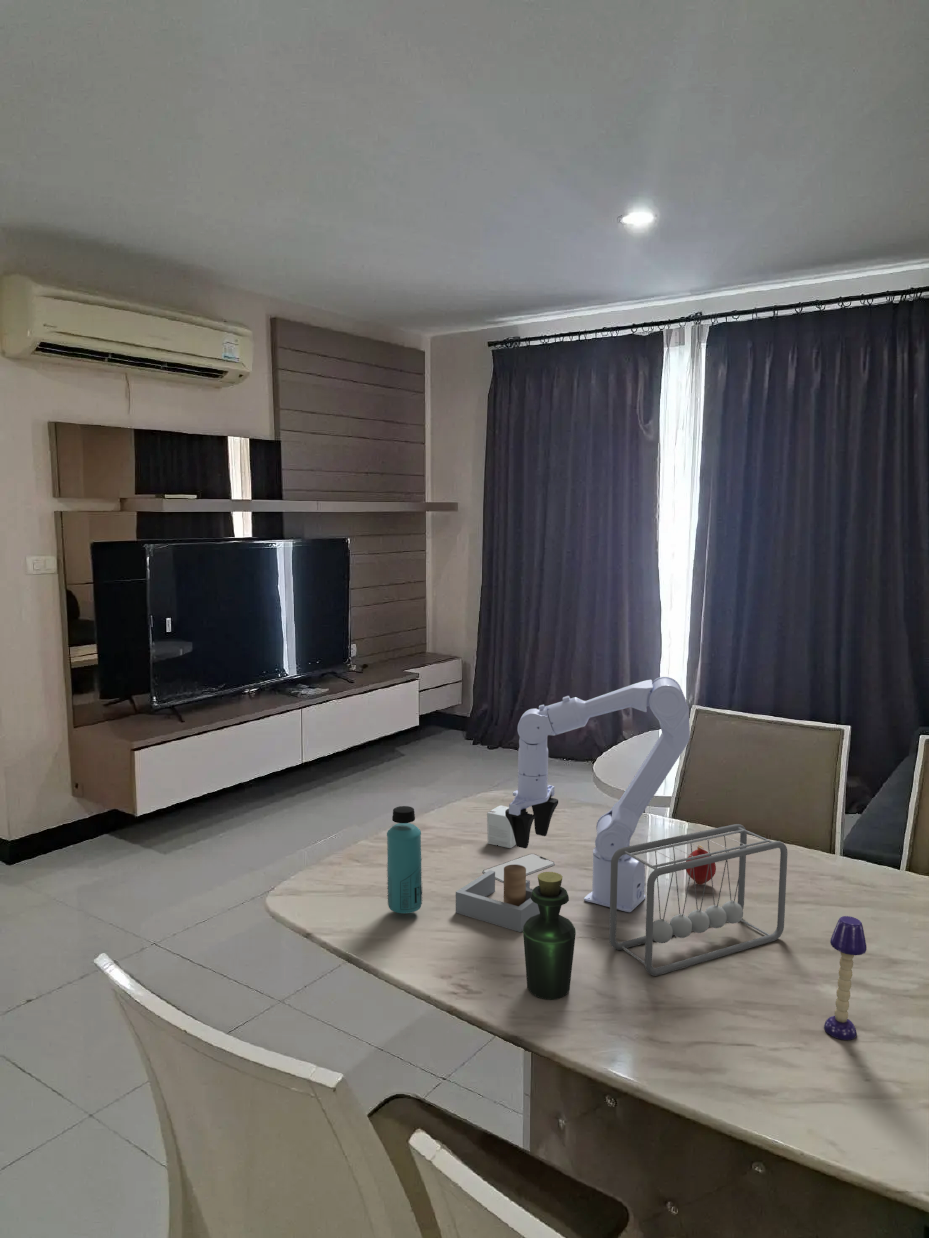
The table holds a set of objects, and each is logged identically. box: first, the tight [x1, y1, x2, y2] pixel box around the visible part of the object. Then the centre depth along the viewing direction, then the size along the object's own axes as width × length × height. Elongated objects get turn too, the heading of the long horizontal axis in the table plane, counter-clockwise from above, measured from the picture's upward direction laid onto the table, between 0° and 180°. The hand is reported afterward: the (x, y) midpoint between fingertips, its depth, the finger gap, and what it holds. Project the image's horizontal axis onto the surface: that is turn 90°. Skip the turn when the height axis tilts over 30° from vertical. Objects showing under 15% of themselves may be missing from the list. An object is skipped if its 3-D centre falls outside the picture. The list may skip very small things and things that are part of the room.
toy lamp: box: [823, 915, 868, 1041], centre depth 120 cm, size 5×5×17 cm
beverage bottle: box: [386, 805, 424, 914], centre depth 156 cm, size 6×7×20 cm
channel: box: [455, 870, 540, 933], centre depth 159 cm, size 14×12×4 cm
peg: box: [503, 865, 527, 906], centre depth 156 cm, size 4×4×9 cm
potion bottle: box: [522, 871, 576, 1000], centre depth 131 cm, size 8×8×18 cm
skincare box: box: [486, 805, 516, 849], centre depth 193 cm, size 6×6×7 cm
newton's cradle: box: [608, 823, 788, 977], centre depth 145 cm, size 30×10×18 cm, turn 117°
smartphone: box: [482, 853, 556, 883], centre depth 178 cm, size 7×1×15 cm
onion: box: [685, 845, 717, 886], centre depth 170 cm, size 6×6×8 cm
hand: (531, 840), depth 165 cm, fingers open, 7 cm apart
